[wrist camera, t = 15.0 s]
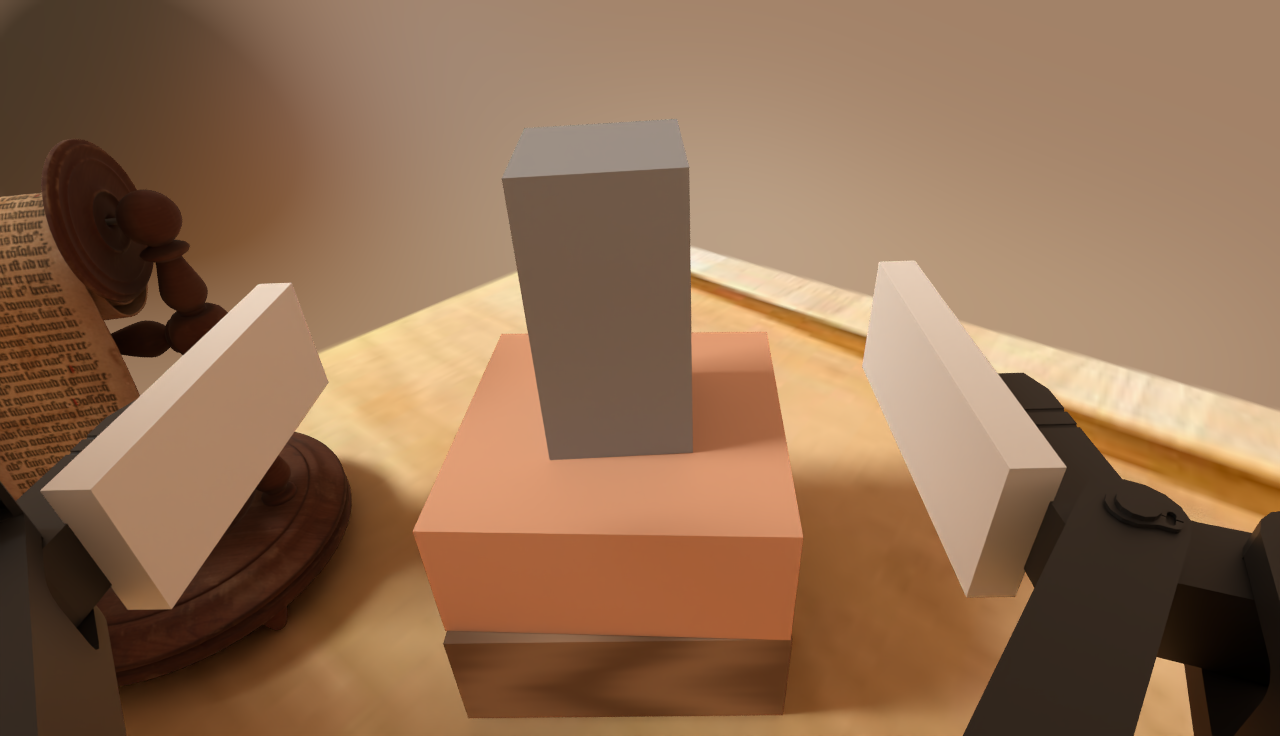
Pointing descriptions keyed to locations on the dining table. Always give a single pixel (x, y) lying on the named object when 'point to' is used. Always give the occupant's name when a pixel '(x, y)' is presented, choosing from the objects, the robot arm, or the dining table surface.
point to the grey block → (606, 284)
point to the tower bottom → (616, 675)
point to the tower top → (619, 513)
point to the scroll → (101, 384)
